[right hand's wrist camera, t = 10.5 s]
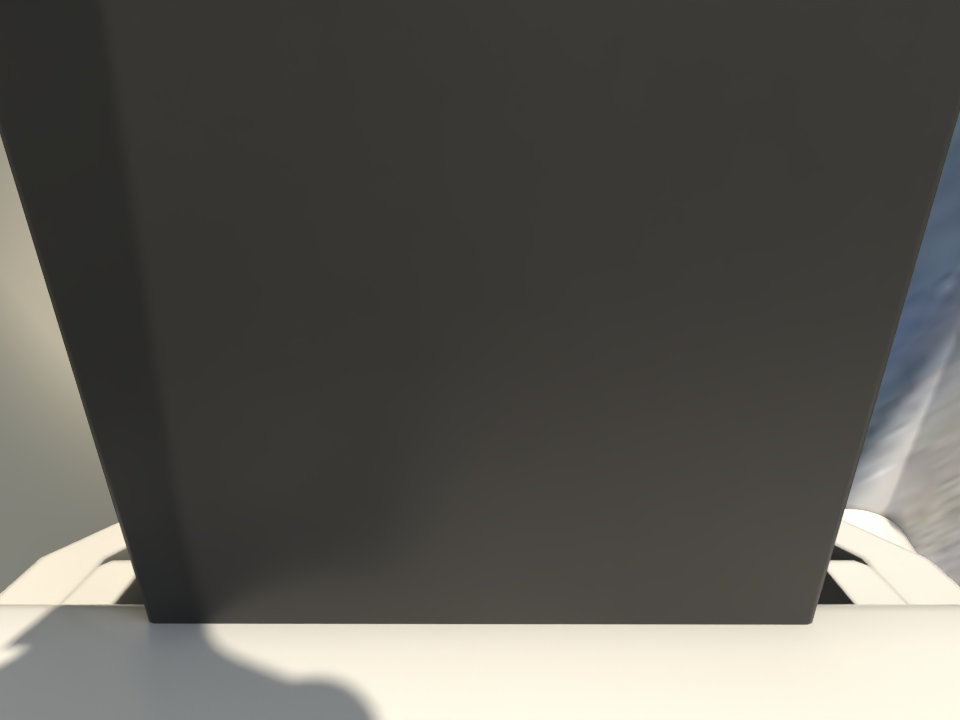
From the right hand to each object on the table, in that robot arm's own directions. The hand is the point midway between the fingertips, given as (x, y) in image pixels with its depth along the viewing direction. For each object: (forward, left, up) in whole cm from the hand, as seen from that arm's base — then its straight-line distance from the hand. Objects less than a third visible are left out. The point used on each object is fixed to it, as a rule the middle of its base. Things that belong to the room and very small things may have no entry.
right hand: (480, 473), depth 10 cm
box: (+7, +1, -7) cm, 10 cm away
